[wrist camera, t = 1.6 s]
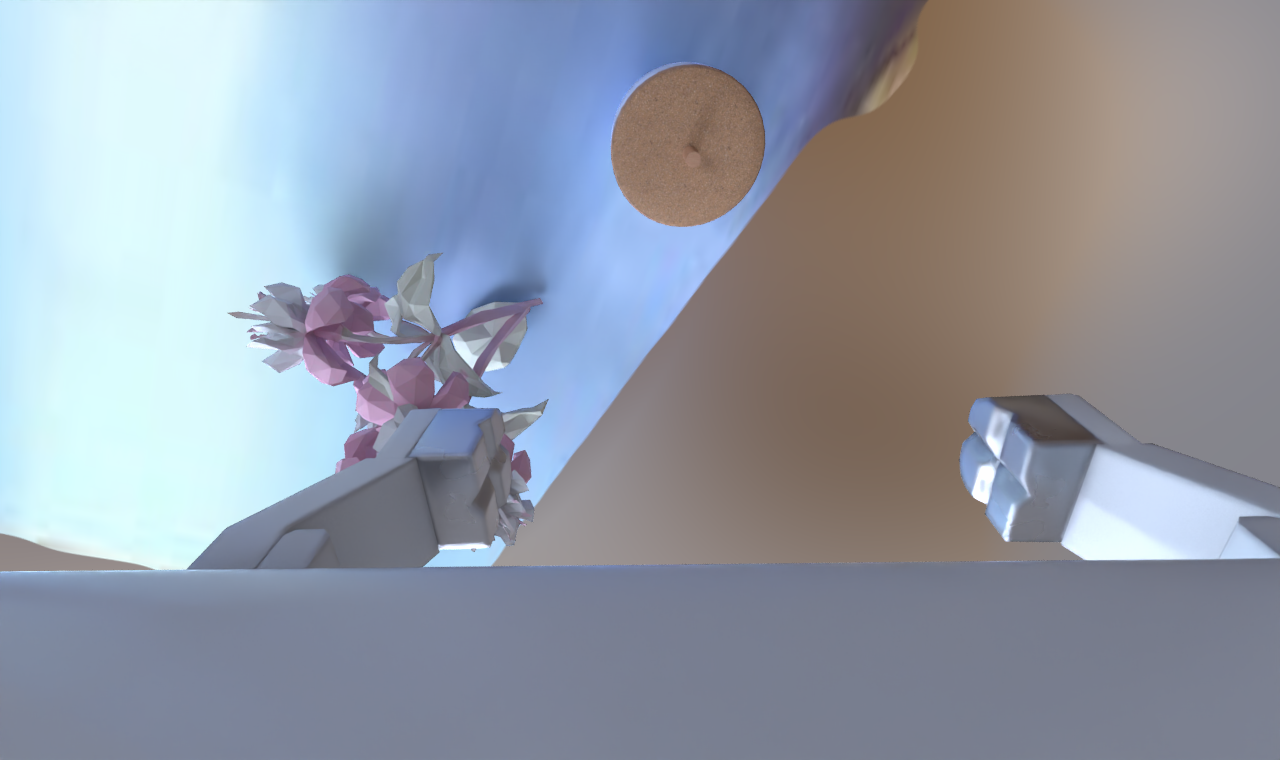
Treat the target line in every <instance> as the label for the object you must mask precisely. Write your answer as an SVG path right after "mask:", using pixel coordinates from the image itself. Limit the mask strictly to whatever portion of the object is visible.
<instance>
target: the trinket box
mask: <svg viewBox="0 0 1280 760" xmlns="http://www.w3.org/2000/svg"><path fill="white" fill-rule="evenodd" d="M764 149H765V130H764V125H763V120H762V116H761V114H760V111H759V108H758V106H757V104H756V102H755V101H754V99H753V97H752V96H751V94H750V93H749V92H748V91H747V90H746V88H745V87H744V86H743V85H742V84H741V83H739V82H738V81H737V80H736V79H735V78H733V77H732V76H730V75H728V74H727V73H725V72H723V71H721V70H719V69H716V68H713V67H710V66H707V65H704V64H701V63H694V62H675V63H670V64H665V65H663V66H660V67H658V68H655V69H653V70H652V71H650V72H648V73H647V74H645V75H644V76H642V77H641V78H640V79H639V80H638V81H636V82H635V83H634V84H633V86H632V87H631V88H630V89H629V90H628V91H627V93H626V94H625V96H624V98H623V99H622V101H621V103H620V105H619V107H618V109H617V112H616V115H615V119H614V122H613V126H612V134H611V160H612V165H613V171H614V174H615V177H616V180H617V183H618V185H619V187H620V189H621V191H622V193H623V195H624V196H625V197H626V199H627V200H628V201H629V202H630V204H631V205H632V206H633V207H634V208H635V209H636V210H638V211H639V212H640V213H641V214H643V215H644V216H646V217H647V218H649V219H651V220H654V221H656V222H658V223H661V224H665V225H669V226H677V227H688V226H696V225H701V224H704V223H707V222H710V221H713V220H715V219H717V218H719V217H721V216H722V215H724V214H726V213H727V212H728V211H730V210H731V209H732V208H734V207H735V206H736V205H737V204H738V203H739V202H740V201H741V200H742V199H743V198H744V196H745V195H746V194H747V193H748V191H749V190H750V188H751V187H752V185H753V183H754V182H755V180H756V178H757V175H758V173H759V170H760V168H761V164H762V160H763V157H764Z"/></svg>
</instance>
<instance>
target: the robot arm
mask: <svg viewBox="0 0 1280 760" xmlns="http://www.w3.org/2000/svg"><path fill="white" fill-rule="evenodd" d="M968 422H969V423H970V425H971V427H972V428H973V430H974V433H973V434H972V435H971V436H970V437H969V438H968V439H966V440H965V441H964V443H963V444H962V449H961V454H960V459H959V462H960V471H961V477H962V480H963V482H964V485H965V487H966V488H967V490H968V491H969V493H970V494H971V495H972V497H974V498H976V499H978V500H980V501H982V502H983V503H985V504H987V508H986V512H985V515H986V516H987V517H988V519H989V520H990V521H991V523H992V524H993V525H994V527H995V528H996V529H997V531H998V532H999V533H1000V535H1001V536H1002V537H1003V539H1004V540H1005V541H1011V542H1018V541H1019V542H1062V543H1061V545H1063V546H1064V547H1066V548H1067V549H1069V550H1071V551H1072V552H1073V553H1075V554H1077V555H1078V556H1080V557H1081V558H1083V559H1084V560H1062V561H1061V560H1054V561H970V562H969V561H967V562H966V561H964V562H962V561H961V562H873V563H871V562H869V563H779V564H777V563H775V564H688V565H687V564H684V565H683V564H682V565H593V566H591V565H590V566H496V567H495V566H493V567H423V566H424V565H425V564H427V563H428V562H429V561H430V560H431V559H432V558H433V557H435V556H436V555H437V554H438V553H439V550H441V549H466V548H490V546H491V544H492V541H493V538H494V535H495V533H496V530H497V527H498V525H499V522H500V518H499V513H498V509H499V508H501V507H502V506H503V505H505V504H506V502H507V499H508V496H509V493H510V485H511V461H510V455H509V451H508V450H507V449H506V448H505V447H504V446H503V445H502V444H501V443H500V442H501V440H502V438H503V435H504V433H505V426H504V421H503V416H502V413H501V412H500V410H499V409H498V408H473V409H441V408H432V409H415V410H411V411H410V412H409V413H408V415H407V416H406V417H405V419H404V420H403V421H402V423H401V424H400V425H399V427H398V428H397V429H396V431H395V432H394V433H393V435H392V436H391V437H390V439H389V440H388V441H387V443H386V444H385V445H384V447H383V448H382V449H381V451H380V452H379V453H378V455H377V456H376V457H375V458H366V459H364V460H362V461H360V462H358V463H356V464H354V465H352V466H350V467H348V468H346V469H344V470H342V471H340V472H338V473H336V474H334V475H332V476H330V477H328V478H326V479H324V480H322V481H320V482H318V483H316V484H314V485H312V486H310V487H308V488H306V489H304V490H302V491H300V492H298V493H296V494H294V495H292V496H290V497H288V498H286V499H284V500H282V501H280V502H278V503H276V504H274V505H272V506H270V507H268V508H266V509H264V510H262V511H260V512H258V513H256V514H254V515H251V516H249V517H247V518H245V519H243V520H241V521H239V522H237V523H235V524H233V525H231V526H229V527H227V528H226V529H225V530H224V531H223V532H222V533H221V534H220V535H219V536H218V537H217V538H216V539H215V540H214V541H213V542H212V543H211V544H210V545H209V546H208V548H207V549H206V550H205V551H204V552H203V553H202V554H201V555H200V556H199V557H198V558H197V559H196V560H195V561H194V562H193V563H192V564H191V565H190V566H189V567H188V568H187V569H186V570H119V571H118V570H116V571H115V570H111V571H17V572H0V760H1280V487H1277V486H1274V485H1272V484H1269V483H1266V482H1263V481H1260V480H1257V479H1254V478H1251V477H1248V476H1246V475H1242V474H1240V473H1237V472H1234V471H1231V470H1228V469H1225V468H1222V467H1219V466H1216V465H1214V464H1211V463H1208V462H1204V461H1202V460H1199V459H1196V458H1193V457H1190V456H1187V455H1184V454H1181V453H1179V452H1175V451H1173V450H1170V449H1167V448H1164V447H1161V446H1158V445H1155V444H1152V443H1148V444H1142V443H1140V442H1139V441H1138V440H1137V439H1135V438H1134V437H1133V436H1131V435H1130V434H1129V433H1127V432H1126V431H1125V430H1123V429H1122V428H1121V427H1120V426H1118V425H1117V424H1115V423H1114V422H1113V421H1112V420H1110V419H1109V418H1108V417H1106V416H1105V415H1104V414H1103V413H1101V412H1100V411H1099V410H1097V409H1096V408H1095V407H1093V406H1092V405H1091V404H1089V403H1088V402H1087V401H1086V400H1084V399H1083V398H1082V397H1080V396H1078V395H1073V394H1056V395H1031V396H1010V397H989V398H980V399H976V401H975V402H974V404H973V406H972V407H971V411H970V414H969V418H968Z"/></svg>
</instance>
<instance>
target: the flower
mask: <svg viewBox="0 0 1280 760" xmlns="http://www.w3.org/2000/svg"><path fill="white" fill-rule="evenodd" d="M442 254H443V253H437V254H428V255H427V256H426V258H425V259H424V260H422V261H420V262H418V263H416V264H414V265H412V266H410V267H408V268H407V269H406V271H405V272H404V273H403V275H402V276H401V277H400V279H399V280H398V281H397V289H398V294H396V295H394V296H393V297H392V298H390V299H389V298H388V297H386V296H384V295H381V294H380V292H379V290H378V288H377V287H370V285H368V284H367V283H366V282H365V281H363V280H362V279H360V278H357V277H355V276H352V275H350V274H348V275H344V276H340V277H338V278H336V279H334V280H332V281H330V282H329V283H327V284H325V285H317V286H315V287H314V288H313V290H314V291H315V292H316V294H317V295H316V296H315V295H314V294H312V293H311V294H312V295H314V296H315V297H310V298H308V297H306V296H303V295H302V293H301V290H300V288H298V287H295V286H292V285H288V284H285V283H278V284H273V285H269V286H264V287H265V288H266V289H267V290H268V291H269V292H270V293H271V294H272V296H271V295H267V296H266V295H265V294H263V293H262V292H259V294H258V297H259V301H257V302H255V303H254V304H252V305H250V307H252V308H254V309H252V308H250V309H252V310H253V311H257V312H260V313H262V314H264V315H265V316H261V315H255V314H249V313H243V312H232V313H228V314H230V315H232V316H234V317H236V318H243V319H254V320H265V321H271V322H270V323H265V324H260V325H254V326H251V327H252V328H251V329H250V330H249V331H247V332H268V333H267V335H261V334H260V336H257V335H256V334H253V335H252V336H251V337H250V338H251V340H253V339H256V338H259V339H257V340H254V341H252V342H251V343H250V344H249V345H248V346H246V347H250V348H261V349H272V350H278V351H277V352H276V353H274V354H272V355H271V356H269V357H267V358H266V359H264V360H263V361H262V362H263V363H265V364H266V365H268V366H270V367H271V368H273V369H274V370H276V371H277V372H279V373H281V372H283V371H285V370H288V369H290V368H292V367H295V366H297V365H299V364H300V363H301V362H302V361H303V360H304V362H305V366H306V370H307V371H308V372H309V373H311V374H312V375H313V376H314V377H315V378H317V379H318V380H319V381H320V382H321V383H324V384H328V385H331V386H336V385H339V384H343V383H347V382H350V381H354V384H353V385H354V388H355V390H356V393H357V402H356V411H357V412H358V415H357V417H356V419H355V421H356V427H355V430H354V434H352V435H350V436H349V438H348V439H347V441H346V443H345V444H344V450H345V459H342V460H340V461H339V462H337V464H336V471H335V474H336V473H338V472H340V471H342V470H344V469H346V468H348V467H350V466H352V465H354V464H356V463H358V462H360V461H362V460H364V459H366V458H375V457H376V456H377V455H378V453H379V452H380V451H381V449H382V448H383V447H384V445H385V444H386V443H387V441H388V440H389V439H390V437H391V436H392V435H393V433H394V432H395V431H396V429H397V428H398V427H399V425H400V424H401V423H402V421H403V420H404V419H405V417H406V416H407V415H408V413H409V412H410V411H411V410H415V409H432V408H441V409H473V408H475V407H473V406H470V405H468V404H469V402H470V399H471V397H472V396H475V397H489V396H494V395H497V394H500V393H503V392H495V391H493V390H492V389H491V388H490V387H489V386H488V385H486V384H485V383H484V382H483V381H482V380H481V376H482V374H483V373H484V371H493V370H497V369H502V368H505V367H506V366H507V365H508V364H509V363H510V362H511V360H512V359H513V357H514V355H515V354H516V352H517V350H518V348H519V346H520V344H521V342H522V340H523V338H524V335H525V333H526V331H527V321H526V315H527V314H528V313H529V312H530V310H531V309H530V307H532V306H536V305H540V304H543V302H542V301H541V299H540V298H538V299H534V300H529V301H525V302H519V303H514V302H493V303H490V304H487V305H484V306H481V307H478V308H475V309H473V310H471V311H470V313H469V314H468V315H467V316H466V318H465V319H463V320H460V321H458V322H456V323H454V324H452V325H449V326H447V327H445V328H442V329H441V328H440V326H439V324H438V322H437V320H436V318H435V316H434V314H433V313H432V311H431V309H430V307H429V303H430V298H431V293H432V289H433V284H434V261H435V260H436V259H437V258H438V257H439V256H440V255H442ZM305 301H307V302H305ZM403 318H404V319H405V320H408V321H411V322H414V323H417V324H419V325H421V326H422V327H424V328H425V329H427V330H428V331H430V332H431V333H429V332H427V331H426V330H424V329H423V328H421V327H419V326H416V325H414V324H411V323H408V322H406V321H403V320H402V319H403ZM389 319H390V320H391V322H392V326H391V331H392V332H393V333H394V334H395V335H397V336H396V337H389V336H386V335H382V334H379V333H376V332H375V331H374V324H373V321H379V320H389ZM452 335H454V337H453V343H454V346H455V348H456V350H455V348H454V346H453V344H452V341H451V339H450V337H449V336H452ZM422 342H424V343H423V344H421V345H420V346H419V347H417V348H416V349H414V350H413V352H412V353H411V354H410V356H409V357H408V358H407V359H403V360H402V361H400V362H399V363H398V364H396V365H395V366H393V367H392V368H390V369H389V370H387V371H386V370H385V369H382V370H380V369H379V368H378V367H377V365H378V355H379V354H380V352H381V351H382V350H383V349H384V348H385V347H384V345H383V344H405V343H422ZM430 344H431V345H430ZM346 345H347V346H348V348H349V349H350V350H351V352H352V353H353V354H354V355H355V356H357V357H359V358H366V357H374V356H375V357H374V358H373V359H372V360H371V361H370V363H369V375H368V376H366V375H364V374H363V373H361V372H360V371H358V370H357V369H355V368H354V367H352V366H354V364H353V362H352V359H351V357H350V354H349V352H348V349H347V347H346ZM428 345H430V347H429V348H428V349H427V350H426V352H425V353H424V354H423V356H422V357H421V358H420V357H417V356H418V355H419V354H420V353H421V352H422V351H423V350H424V348H426V347H427V346H428ZM424 361H425V362H426V363H425V362H424ZM434 380H436V381H439V382H441V383H442V384H443V386H442V387H441V388H440V390H439V391H438V393H437V394H436V395H434V392H435V389H434ZM547 401H548V399H547V400H546V401H544V402H542V403H540V404H538V405H537V406H535V407H533V408H522V409H518V410H514V411H510V412H506V413H502V412H501V413H502V416H503V421H504V426H505V433H504V435H503V438H502V440H501V442H500V443H501V444H502V445H503V446H504V447H505V448H506V449H507V450H508V451H509V455H510V461H512V456H513V450H514V443H513V441H512V440H513V439H514V438H516V437H517V436H518V435H519V434H520V433H522V432H523V431H524V430H525V429H527V428H528V427H529V426H530V425H531V424H533V423H534V422H535V421H536V420H537V419H538V418H539V417H540V416H542V414H543V411H544V409H545V406H546V404H547ZM366 425H367V428H368V429H364V430H361V431H359V432H356V431H358V430H359V429H361V428H363V427H364V426H366ZM355 432H356V433H355ZM530 478H531V468H530V459H529V457H528V455H527V453H526V451H525V450H523V451H520V452H517V453H514V457H513V461H512V462H511V485H510V493H509V496H508V499H507V502H506V504H505V505H503V506H502V507H501V508H499V509H498V513H499V518H500V522H499V525H498V527H497V530H496V533H495V535H496V536H499V537H501V538H502V540H503V541H504V543H505V544H506V546H511V545H514V543H515V541H516V539H515V538H516V533H517V529H518V527H519V525H520V524H521V525H523V526H526V524H525V523H523V522H522V521H520V520H519V518H520V519H524V520H528V521H531V522H533V517H534V507H533V505H532V503H531V501H530V500H521V499H520V496H519V493H522V492H526V491H529V490H528V487H527V485H526V483H527V482H528V481H529V480H530ZM493 541H495V538H493ZM470 549H471V550H472V551H473V552H475V550H476V549H477V548H470Z"/></svg>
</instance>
